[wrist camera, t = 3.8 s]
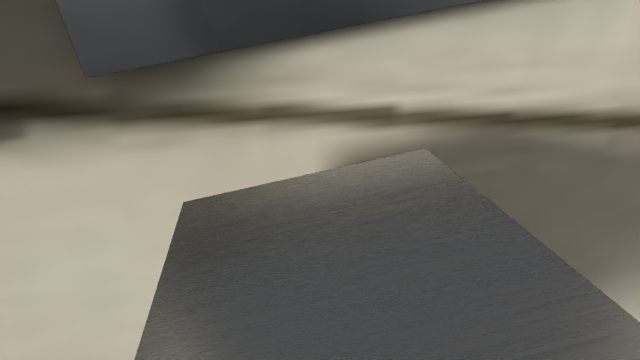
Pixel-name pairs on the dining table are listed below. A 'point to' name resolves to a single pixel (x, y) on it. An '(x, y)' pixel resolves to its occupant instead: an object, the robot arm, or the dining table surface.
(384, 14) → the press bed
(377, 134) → the dining table surface
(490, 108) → the dining table surface
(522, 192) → the dining table surface
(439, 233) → the block
